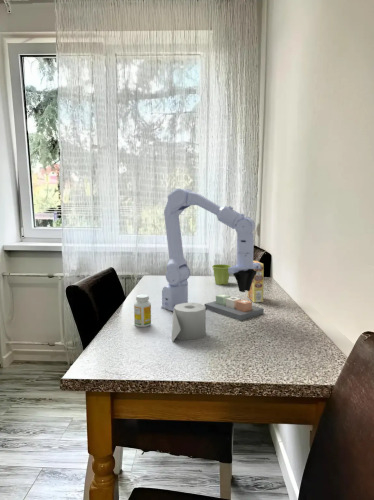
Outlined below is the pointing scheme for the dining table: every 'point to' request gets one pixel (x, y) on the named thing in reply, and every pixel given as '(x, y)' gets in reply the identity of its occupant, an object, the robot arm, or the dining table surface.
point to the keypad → (233, 311)
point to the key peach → (244, 305)
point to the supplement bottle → (142, 311)
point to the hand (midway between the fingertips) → (244, 291)
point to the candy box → (257, 285)
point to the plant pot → (221, 274)
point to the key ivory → (232, 302)
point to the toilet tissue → (189, 321)
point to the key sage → (221, 299)
